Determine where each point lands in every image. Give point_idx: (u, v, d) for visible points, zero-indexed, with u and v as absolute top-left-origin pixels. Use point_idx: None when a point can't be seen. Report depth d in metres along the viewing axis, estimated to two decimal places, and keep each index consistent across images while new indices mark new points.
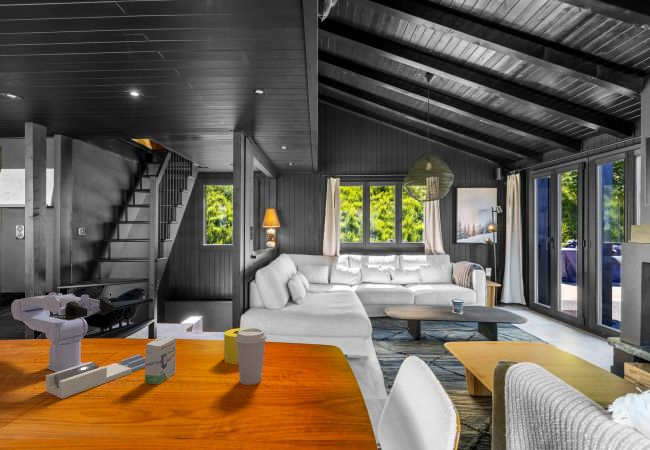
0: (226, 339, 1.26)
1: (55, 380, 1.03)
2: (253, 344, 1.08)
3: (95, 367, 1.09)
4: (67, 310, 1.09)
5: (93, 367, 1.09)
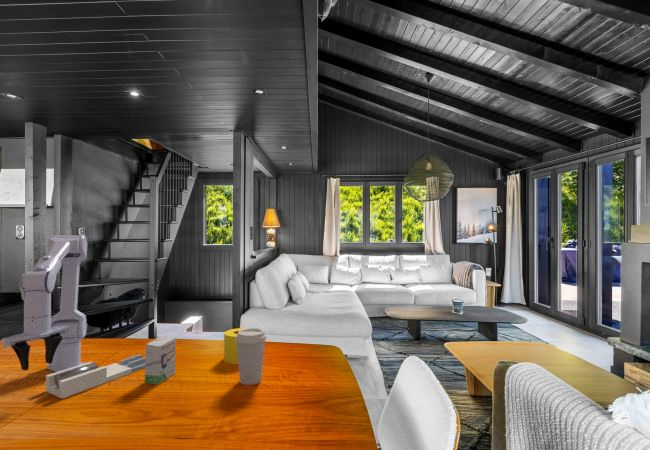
0: (226, 339, 1.26)
1: (55, 380, 1.03)
2: (253, 344, 1.08)
3: (95, 367, 1.09)
4: None
5: (93, 367, 1.09)
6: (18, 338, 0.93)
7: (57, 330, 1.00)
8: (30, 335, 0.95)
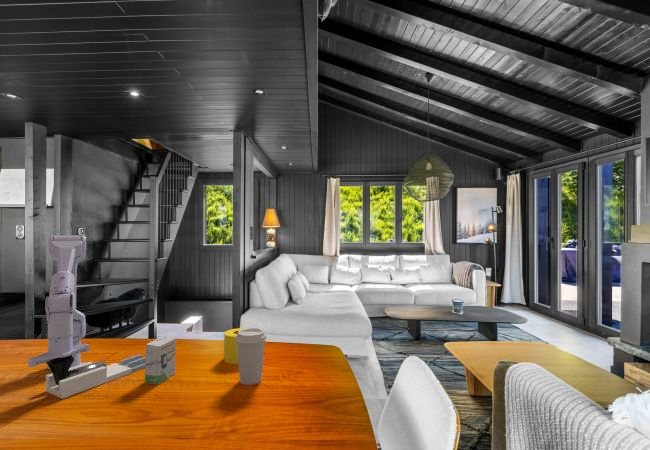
0: (226, 339, 1.26)
1: None
2: (253, 344, 1.08)
3: None
4: (51, 363, 1.00)
5: None
6: (43, 358, 0.98)
7: (78, 349, 1.05)
8: (54, 355, 1.00)
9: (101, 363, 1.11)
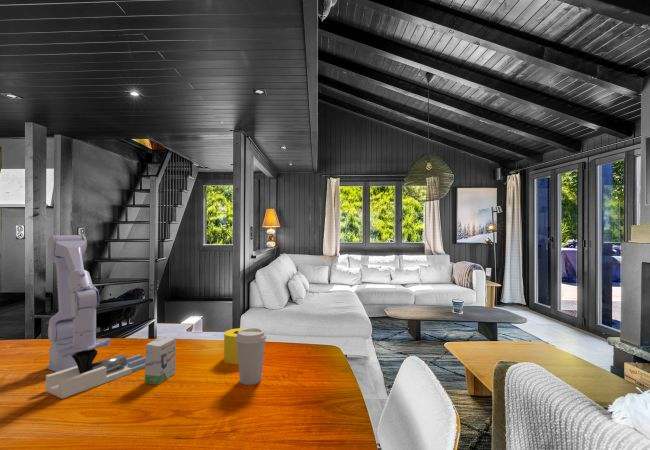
0: (226, 339, 1.26)
1: None
2: (253, 344, 1.08)
3: (124, 361, 1.16)
4: (76, 356, 1.06)
5: (122, 361, 1.16)
6: (69, 351, 1.03)
7: (101, 343, 1.11)
8: (79, 348, 1.05)
9: (122, 357, 1.16)
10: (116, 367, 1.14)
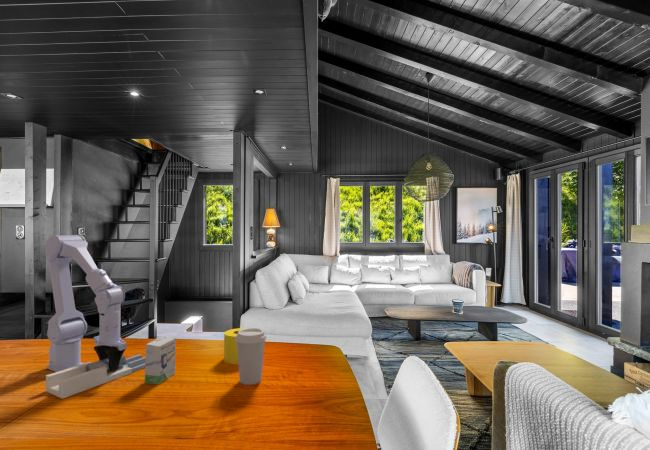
0: (226, 339, 1.26)
1: (87, 369, 1.10)
2: (253, 344, 1.08)
3: (123, 358, 1.17)
4: None
5: (121, 358, 1.16)
6: (96, 339, 1.16)
7: (111, 344, 1.11)
8: (99, 340, 1.14)
9: None
10: None
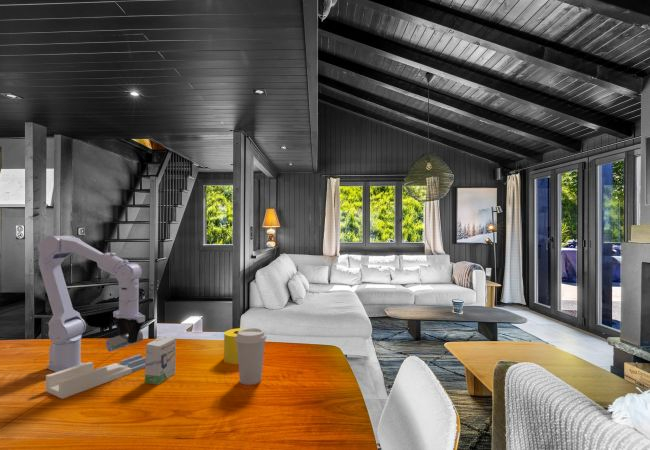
0: (226, 339, 1.26)
1: (107, 345, 1.15)
2: (253, 344, 1.08)
3: (139, 332, 1.22)
4: None
5: None
6: (116, 313, 1.21)
7: (130, 317, 1.17)
8: (118, 313, 1.20)
9: None
10: None
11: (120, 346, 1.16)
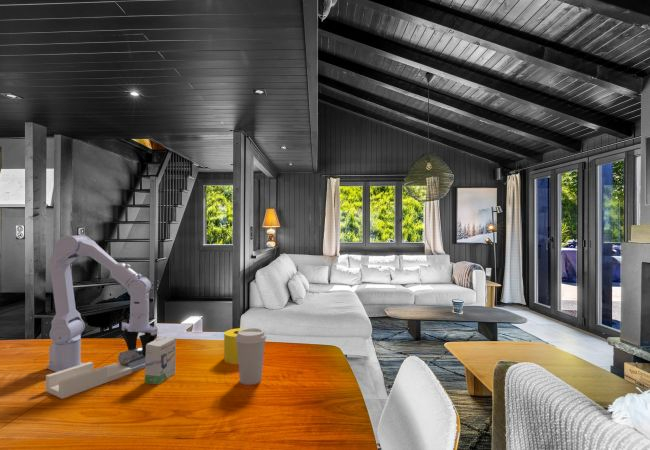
0: (226, 339, 1.26)
1: (119, 359, 1.19)
2: (253, 344, 1.08)
3: None
4: None
5: None
6: (125, 326, 1.24)
7: (143, 330, 1.20)
8: (129, 327, 1.23)
9: None
10: None
11: (132, 359, 1.19)
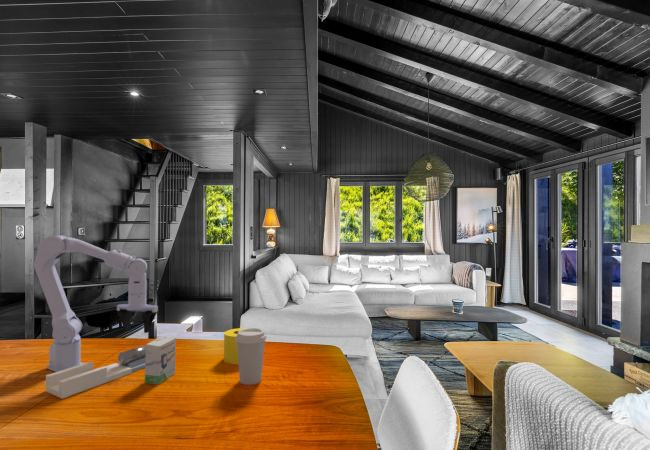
0: (226, 339, 1.26)
1: (119, 359, 1.19)
2: (253, 344, 1.08)
3: None
4: None
5: None
6: (122, 306, 1.27)
7: (144, 308, 1.26)
8: (127, 306, 1.27)
9: None
10: (144, 352, 1.23)
11: (132, 359, 1.19)
